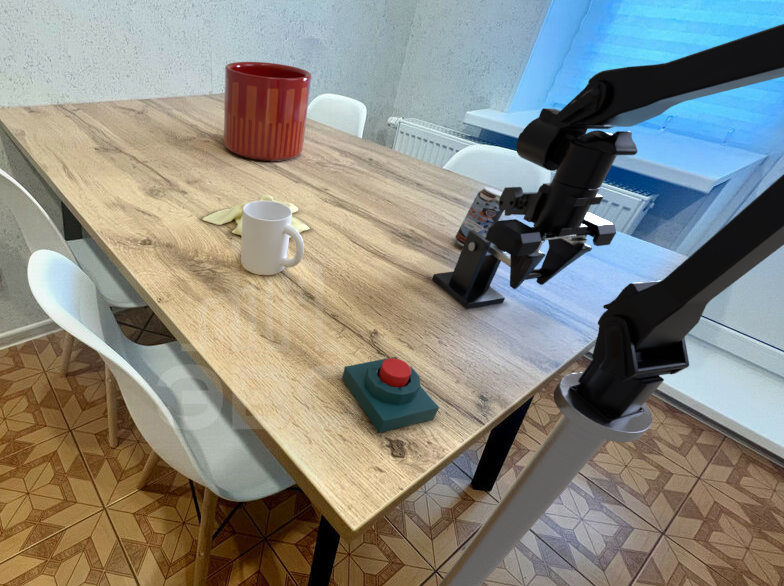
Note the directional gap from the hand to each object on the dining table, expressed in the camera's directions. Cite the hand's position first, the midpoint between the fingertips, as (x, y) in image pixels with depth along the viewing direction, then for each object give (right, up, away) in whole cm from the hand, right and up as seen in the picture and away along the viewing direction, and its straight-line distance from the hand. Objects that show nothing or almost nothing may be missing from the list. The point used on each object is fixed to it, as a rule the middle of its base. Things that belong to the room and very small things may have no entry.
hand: (526, 285), depth 71 cm
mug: (-39, +5, +12) cm, 41 cm away
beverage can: (+3, +13, +26) cm, 29 cm away
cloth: (-42, +18, +27) cm, 53 cm away
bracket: (-4, +1, +12) cm, 13 cm away
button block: (-24, -17, -11) cm, 31 cm away
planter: (-42, +51, +65) cm, 92 cm away
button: (-24, -14, -13) cm, 31 cm away
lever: (-2, +4, +4) cm, 6 cm away
